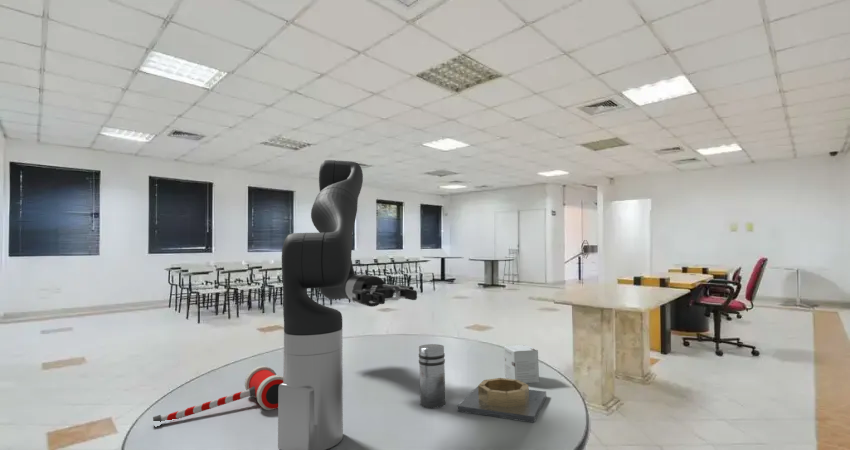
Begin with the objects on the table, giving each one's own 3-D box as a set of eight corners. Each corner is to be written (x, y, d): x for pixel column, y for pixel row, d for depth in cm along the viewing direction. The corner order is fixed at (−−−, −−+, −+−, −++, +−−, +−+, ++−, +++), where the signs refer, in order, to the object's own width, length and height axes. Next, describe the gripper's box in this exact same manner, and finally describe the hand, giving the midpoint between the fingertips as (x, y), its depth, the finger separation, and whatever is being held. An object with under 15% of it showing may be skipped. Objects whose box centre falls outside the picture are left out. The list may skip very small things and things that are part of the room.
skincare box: (504, 377, 94) (503, 345, 95) (527, 375, 96) (526, 344, 96) (515, 384, 88) (514, 351, 89) (540, 382, 90) (538, 349, 90)
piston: (439, 410, 74) (438, 350, 75) (415, 406, 77) (414, 348, 78) (449, 401, 79) (448, 345, 80) (426, 397, 81) (425, 343, 82)
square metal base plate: (534, 422, 68) (533, 401, 68) (457, 411, 73) (457, 391, 74) (546, 396, 80) (545, 378, 80) (480, 388, 86) (479, 372, 86)
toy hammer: (154, 440, 65) (156, 400, 66) (150, 418, 74) (152, 384, 75) (292, 406, 79) (292, 374, 80) (274, 392, 88) (274, 363, 89)
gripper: (339, 276, 97) (372, 283, 84) (389, 273, 105) (425, 278, 92) (339, 307, 97) (372, 318, 84) (389, 301, 105) (425, 310, 92)
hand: (400, 297), depth 88 cm, fingers open, 8 cm apart
